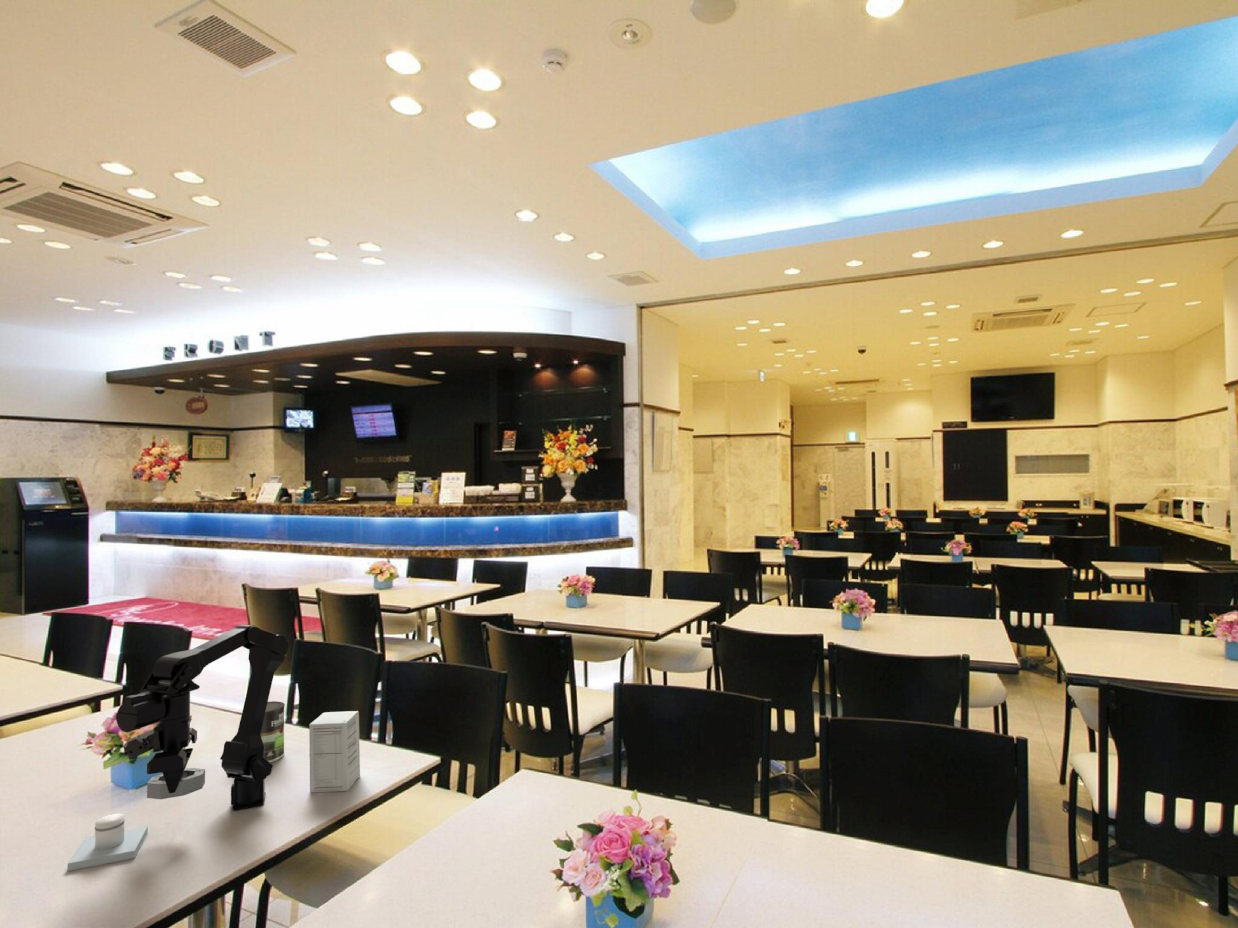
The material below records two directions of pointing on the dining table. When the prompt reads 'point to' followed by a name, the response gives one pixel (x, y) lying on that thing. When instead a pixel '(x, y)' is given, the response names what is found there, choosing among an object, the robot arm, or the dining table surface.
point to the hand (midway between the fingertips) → (173, 790)
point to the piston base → (110, 854)
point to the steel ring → (187, 784)
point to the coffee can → (273, 731)
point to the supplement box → (334, 751)
